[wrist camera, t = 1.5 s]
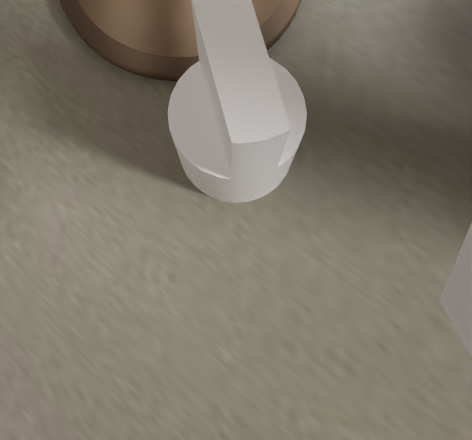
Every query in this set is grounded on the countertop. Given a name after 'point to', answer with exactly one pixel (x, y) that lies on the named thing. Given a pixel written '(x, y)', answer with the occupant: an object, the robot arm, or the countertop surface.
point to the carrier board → (159, 31)
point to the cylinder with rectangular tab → (235, 107)
